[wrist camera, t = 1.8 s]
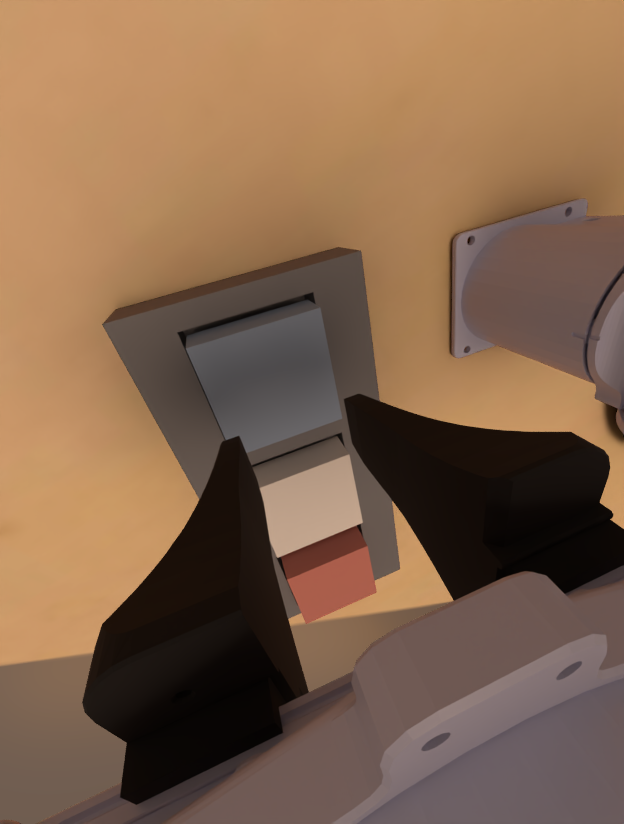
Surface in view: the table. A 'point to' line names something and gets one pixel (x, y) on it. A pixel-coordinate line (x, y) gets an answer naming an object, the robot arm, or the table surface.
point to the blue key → (267, 374)
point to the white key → (308, 495)
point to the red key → (330, 573)
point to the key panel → (188, 404)
